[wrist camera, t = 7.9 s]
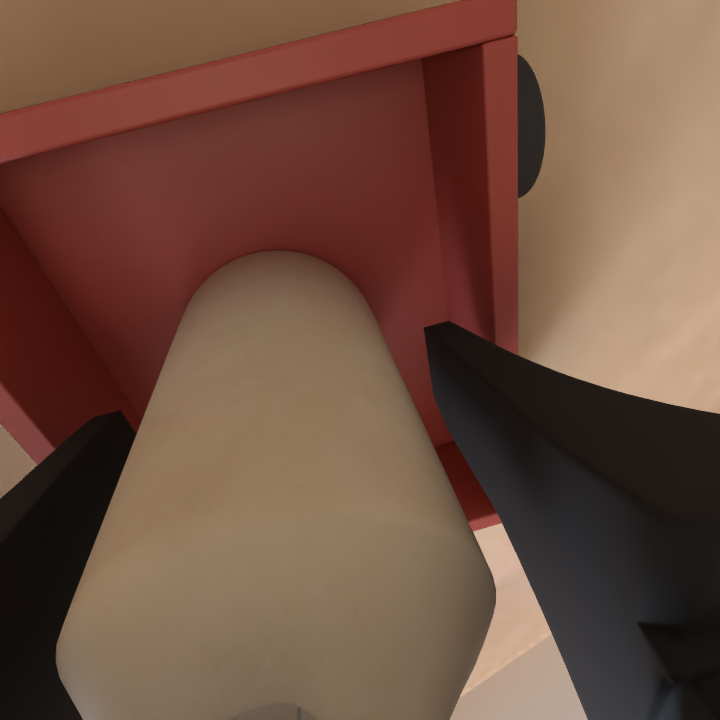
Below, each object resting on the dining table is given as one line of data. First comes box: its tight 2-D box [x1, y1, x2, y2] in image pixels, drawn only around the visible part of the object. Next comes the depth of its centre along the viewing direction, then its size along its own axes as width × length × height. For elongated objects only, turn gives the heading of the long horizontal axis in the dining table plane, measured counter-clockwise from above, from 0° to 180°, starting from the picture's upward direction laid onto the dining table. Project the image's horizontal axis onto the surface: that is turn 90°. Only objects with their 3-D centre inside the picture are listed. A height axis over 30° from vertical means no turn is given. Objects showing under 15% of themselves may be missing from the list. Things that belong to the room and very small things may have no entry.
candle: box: [56, 250, 496, 720], centre depth 9 cm, size 6×6×10 cm
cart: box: [0, 0, 518, 531], centre depth 12 cm, size 13×11×4 cm
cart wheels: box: [517, 55, 545, 198], centre depth 13 cm, size 17×13×3 cm
